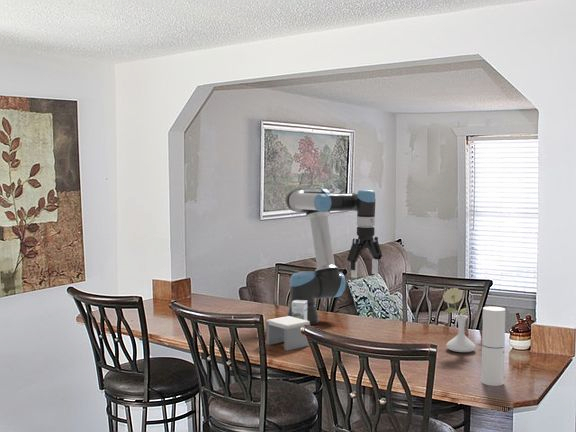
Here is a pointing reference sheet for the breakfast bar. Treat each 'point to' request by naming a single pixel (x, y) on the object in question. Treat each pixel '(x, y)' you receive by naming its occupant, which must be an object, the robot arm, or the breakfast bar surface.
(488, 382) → the cylindrical container
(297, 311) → the syrup box
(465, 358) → the breakfast bar surface
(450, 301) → the flower in vase
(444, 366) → the breakfast bar surface
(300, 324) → the low shelf
